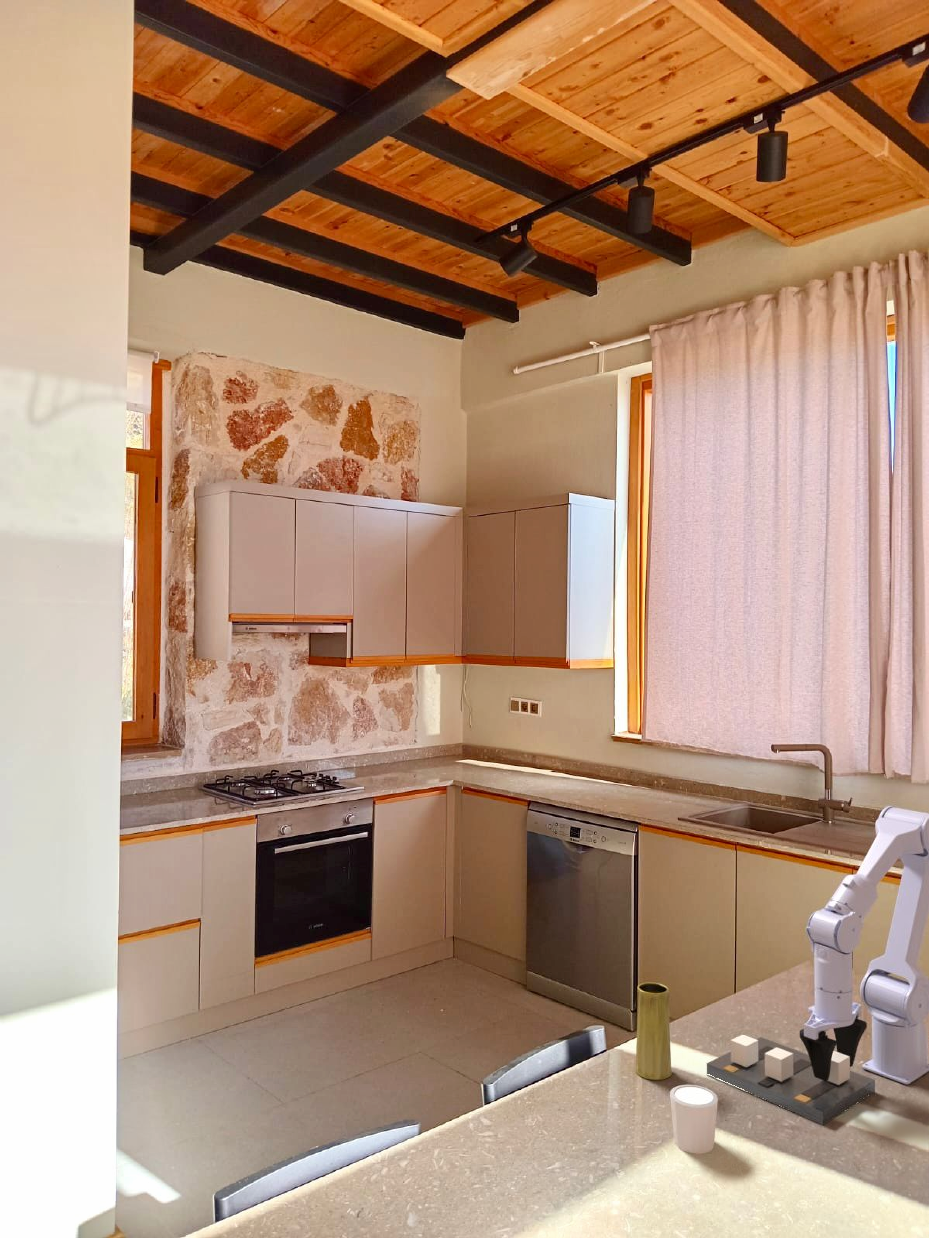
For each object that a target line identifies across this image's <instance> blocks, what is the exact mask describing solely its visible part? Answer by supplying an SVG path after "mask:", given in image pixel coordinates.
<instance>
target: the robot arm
mask: <svg viewBox="0 0 929 1238" xmlns="http://www.w3.org/2000/svg"><path fill="white" fill-rule="evenodd" d="M874 824H875V835H876V837H875V838H874V841H873V842H872V844H871V846H870V848H869V850H868V852H867V853H866V855H865V857H864V859H863V861H862V863H861V864H860V866H859V868H858V870H857V872H856V873H854V874H849V875H848V874H847V875H846V876H845V877H844V878H843V880H842V881H841V883H840V884H839V886H838V887H837V889H836V890H835V892H834V893H833V895H832V896H831V898H830V899H829V901H828V902H827V903H826V905H825V907H824V908H821V909H820V910H816V911H814V912H813V913H812V914H811V915H810V916H809V918H808V921H807V926H806V927H805V932H806V933H805V934H806V937H807V939H808V940H809V942H810V951H811V953H812V955H814V958H813V960H814V961H813V963H814V964H813V965H814V966H813V968H814V970H813V972H814V1005H811V1006H809V1007H808V1013H810V1014H811V1015H810V1017H809V1019H808V1021H807V1022H805V1023H804V1024H803V1028H802V1029H800V1030H799V1039H800V1040H801V1041H802V1043H803V1046H804V1047H805V1050H806V1052H807V1055H809V1058H810V1061H811V1065H812V1069H813V1073H814V1076H815V1077H816V1078H819V1079H821V1080H824V1081H827V1080H828V1079H829V1075H830V1067H831V1059H832V1054H833V1051H835V1049H836V1052H838V1053H841V1054H844V1055H847V1056H849V1057H850V1068H851V1067H853V1066H854V1062H855V1058H856V1055H857V1051H858V1047H859V1045H860V1044H859V1043H860V1042H861V1038H862V1036H863V1034H864V1033H865V1031H866V1030H867V1028H868V1023H867V1022H866V1021H865V1020H862V1019H859V1018H861V1017H862V1015H863V1014H862V1012H863V1010H862V1007H863V1005H862V1004H860V1003H857V1002H854V1001H853V951H855V950H856V948H857V947H858V946H859V945H860V940H861V937H862V936H861V935H862V931H863V928H864V926H865V924H864V923H863V922H864V920H865V919H866V917H867V915H868V913H869V912H870V910H871V909H872V907H873V905H874V904H875V903H876V902H877V900H878V898H879V893H878V890H877V886H878V884H880V883H881V881H882V880H883V878H884V877H885V875H887V874H888V872H889V870H891V868H892V867H893V866H894V864H895V863H896V862H897V861H898V859H900V861H901V862H902V864H903V870H902V874H901V879H900V882H899V888H898V892H897V893H898V894H897V896H896V902H895V905H894V910H893V911H894V912H893V915H892V920H891V924H890V929H889V933H888V938H887V943H886V946H885V952H884V954H883V955H880V956H879V957H877V958H874V959H872V960H871V961H870V962H869V965H868V968H867V971H866V972H865V975H864V976H863V978H862V979H861V983H860V988H859V991H860V998H861V1001H862V1002H863V1004H864V1005H865V1006H866V1007H867V1013H869V1014H870V1015H871V1040H872V1041H871V1053H872V1054H871V1059H870V1060H867V1062H865V1063H862V1065H861V1068H862V1069H863V1070H866V1071H869V1072H872V1073H874V1074H877V1075H880V1076H883V1077H884V1078H888V1079H889V1080H893V1081H896V1082H899V1083H901V1084H904V1085H910V1084H911V1083H913V1082H915V1081H916V1080H917V1079H919V1078H920V1077H922V1076H923V1075H925V1074H926V1073H929V1063H928V1031H927V1030H928V1029H927V1025H926V1024H925V1022H924V1021H925V1020H926V1018H927V1017H928V1015H929V978H928V976H927V975H926V973H924V970H922V969H921V967H920V966H919V960H920V956H921V951H922V946H923V942H924V937H925V932H926V928H927V925H928V924H927V922H928V919H929V813H928V812H922V811H916V810H911V809H907V808H899V807H896V806H893V805H887V806H885V808H883V809H882V810H881V812H880V813H879V816H878V818H877V819H876V821H875V823H874ZM891 974H892V975H895V976H898V977H901V978H904V979H905V980H904V979H903V980H902V979H900V978H897V977H894V976H892V975H891ZM829 1030H833V1034H834V1038H835V1039H832V1038H830V1037H829V1036H828V1035H827V1033H826V1032H828V1031H829Z"/></svg>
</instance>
